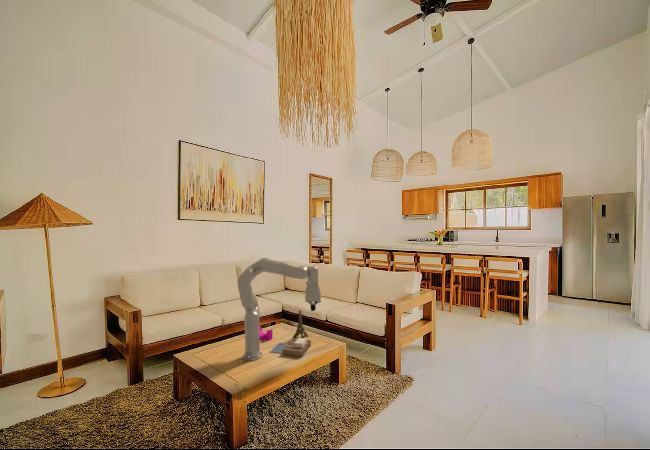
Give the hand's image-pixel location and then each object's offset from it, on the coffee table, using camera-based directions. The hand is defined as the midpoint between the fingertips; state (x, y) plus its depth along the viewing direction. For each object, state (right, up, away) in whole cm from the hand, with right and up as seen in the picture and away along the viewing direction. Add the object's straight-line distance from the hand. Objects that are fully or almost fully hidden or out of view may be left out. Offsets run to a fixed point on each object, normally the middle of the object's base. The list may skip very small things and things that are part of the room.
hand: (313, 310), depth 212 cm
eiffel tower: (-11, -29, +27) cm, 41 cm away
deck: (-11, -29, +4) cm, 31 cm away
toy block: (-41, -30, +26) cm, 56 cm away
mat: (-23, -29, +7) cm, 38 cm away
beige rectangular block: (-9, -24, +3) cm, 25 cm away
